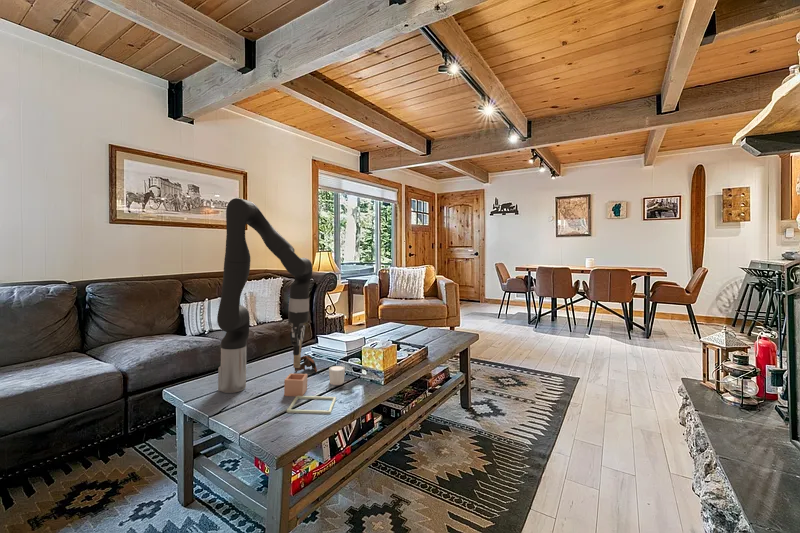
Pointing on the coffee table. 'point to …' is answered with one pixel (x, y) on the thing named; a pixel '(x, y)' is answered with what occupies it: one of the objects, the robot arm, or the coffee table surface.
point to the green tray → (311, 410)
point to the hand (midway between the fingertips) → (297, 353)
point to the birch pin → (297, 358)
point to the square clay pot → (295, 384)
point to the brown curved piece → (306, 363)
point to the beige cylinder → (336, 375)
